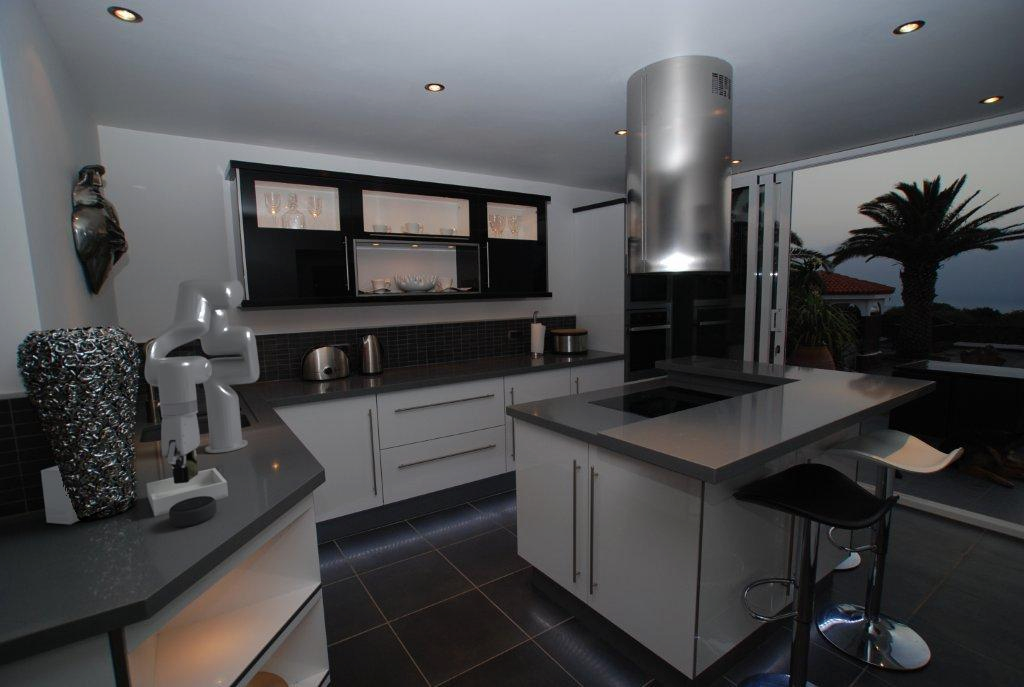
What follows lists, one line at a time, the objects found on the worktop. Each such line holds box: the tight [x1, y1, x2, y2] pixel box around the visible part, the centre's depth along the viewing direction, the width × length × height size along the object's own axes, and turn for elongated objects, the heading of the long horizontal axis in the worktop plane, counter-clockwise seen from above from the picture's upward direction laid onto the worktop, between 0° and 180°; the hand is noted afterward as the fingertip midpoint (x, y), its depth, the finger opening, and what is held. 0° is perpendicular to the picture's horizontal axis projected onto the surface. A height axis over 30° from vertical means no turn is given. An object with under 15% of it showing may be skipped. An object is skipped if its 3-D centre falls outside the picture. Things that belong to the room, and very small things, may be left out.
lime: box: [186, 460, 199, 480], centre depth 117 cm, size 4×5×5 cm
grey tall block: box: [40, 465, 80, 525], centre depth 109 cm, size 7×7×13 cm
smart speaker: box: [168, 496, 218, 528], centre depth 106 cm, size 9×9×4 cm
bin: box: [146, 467, 229, 517], centre depth 118 cm, size 15×15×4 cm
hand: (186, 478), depth 118 cm, fingers closed on lime, 4 cm apart
